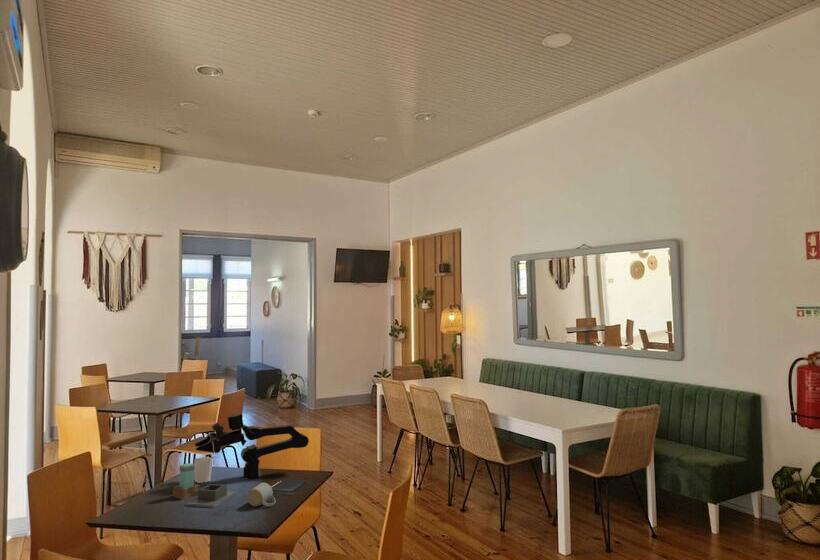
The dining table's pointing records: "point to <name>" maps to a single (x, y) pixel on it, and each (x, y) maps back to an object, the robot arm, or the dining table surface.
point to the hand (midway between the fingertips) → (195, 446)
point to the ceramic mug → (261, 495)
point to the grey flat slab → (287, 486)
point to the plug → (186, 475)
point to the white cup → (202, 469)
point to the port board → (211, 496)
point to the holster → (185, 492)
